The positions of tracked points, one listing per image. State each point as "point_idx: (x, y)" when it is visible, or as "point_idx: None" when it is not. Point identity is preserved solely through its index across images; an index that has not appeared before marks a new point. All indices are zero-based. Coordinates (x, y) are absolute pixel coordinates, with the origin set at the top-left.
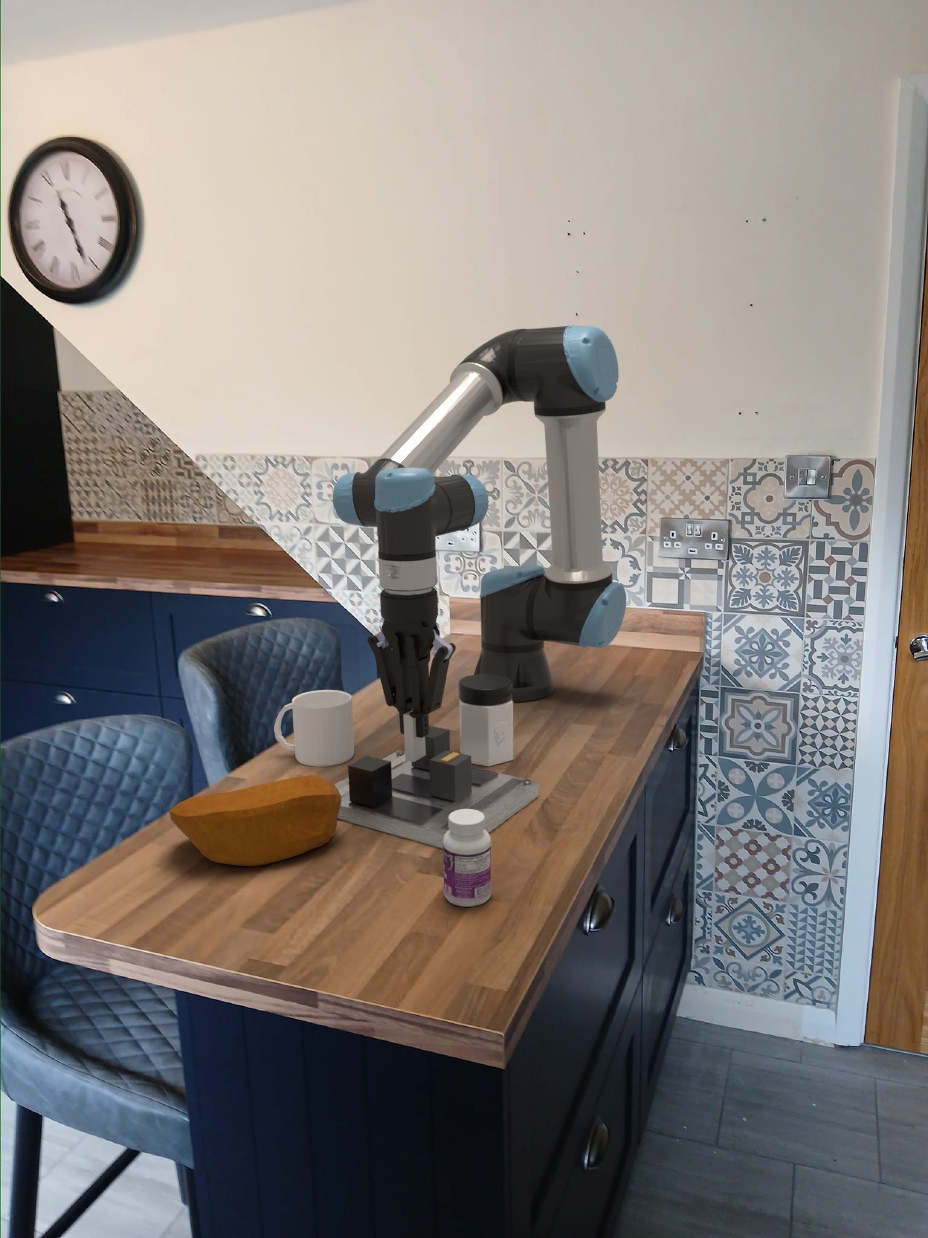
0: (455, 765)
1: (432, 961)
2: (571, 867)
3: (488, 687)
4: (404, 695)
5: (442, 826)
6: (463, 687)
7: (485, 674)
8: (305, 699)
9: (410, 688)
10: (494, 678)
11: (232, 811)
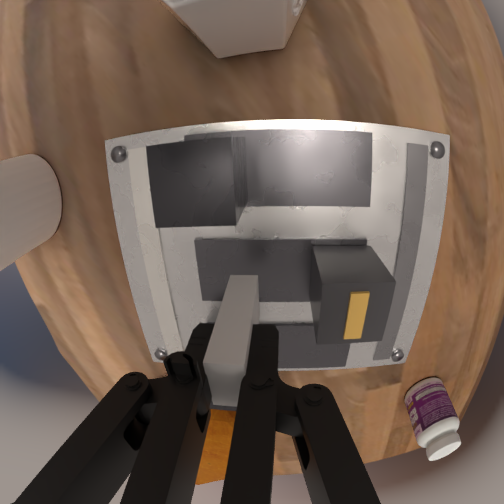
0: (382, 338)
1: (413, 434)
2: (499, 306)
3: None
4: (200, 452)
5: (374, 358)
6: None
7: None
8: None
9: (189, 449)
10: None
11: (208, 482)
